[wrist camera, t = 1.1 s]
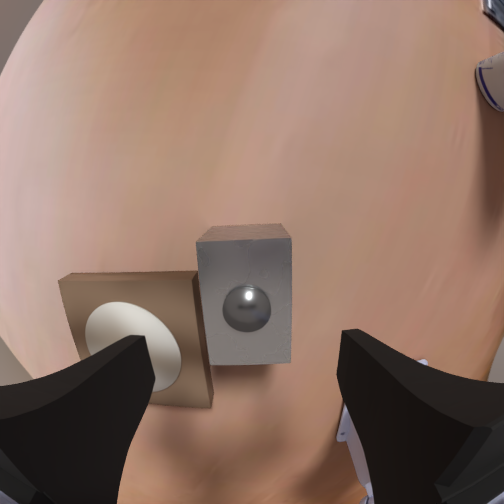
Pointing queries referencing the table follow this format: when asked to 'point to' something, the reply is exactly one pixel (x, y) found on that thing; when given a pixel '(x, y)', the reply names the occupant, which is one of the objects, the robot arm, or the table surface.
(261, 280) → the housing
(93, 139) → the table surface
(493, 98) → the energy drink
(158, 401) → the stand
